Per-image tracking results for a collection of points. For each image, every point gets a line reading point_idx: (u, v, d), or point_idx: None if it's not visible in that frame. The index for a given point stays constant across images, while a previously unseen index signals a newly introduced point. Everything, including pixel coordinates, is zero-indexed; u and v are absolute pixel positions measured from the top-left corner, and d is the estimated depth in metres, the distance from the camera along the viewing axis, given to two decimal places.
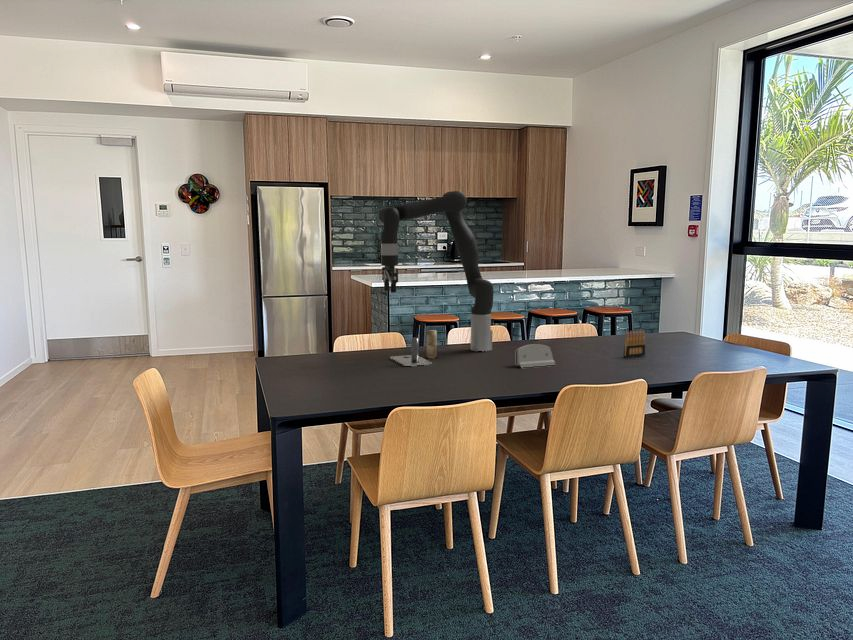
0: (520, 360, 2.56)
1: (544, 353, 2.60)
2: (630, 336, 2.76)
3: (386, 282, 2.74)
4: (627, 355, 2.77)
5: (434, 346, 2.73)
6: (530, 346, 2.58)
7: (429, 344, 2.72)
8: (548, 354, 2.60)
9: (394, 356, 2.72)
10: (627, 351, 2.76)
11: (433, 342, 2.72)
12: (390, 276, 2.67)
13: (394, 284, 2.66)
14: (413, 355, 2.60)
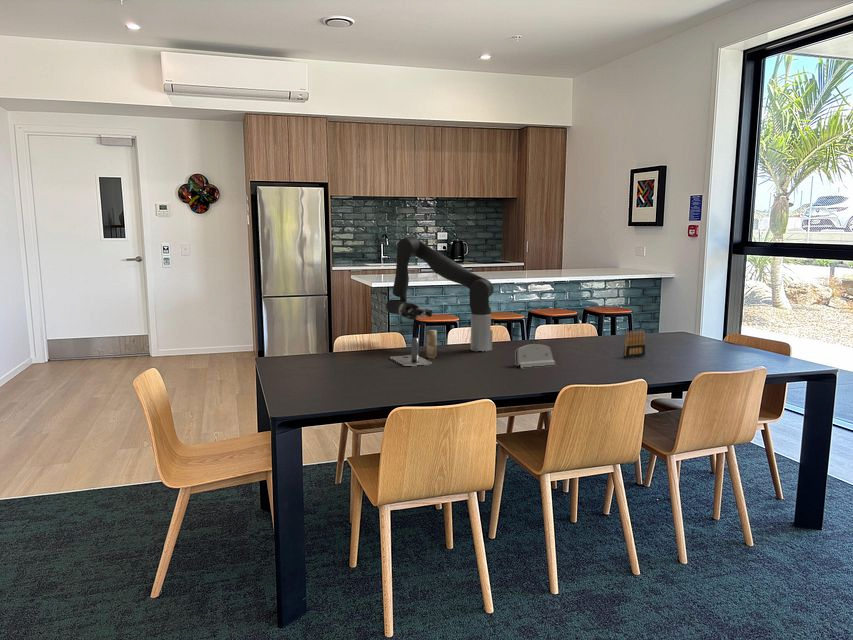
0: (520, 360, 2.56)
1: (544, 353, 2.60)
2: (630, 336, 2.76)
3: (426, 313, 2.88)
4: (627, 355, 2.77)
5: (434, 346, 2.73)
6: (530, 346, 2.58)
7: (429, 344, 2.72)
8: (548, 354, 2.60)
9: (394, 356, 2.72)
10: (627, 351, 2.76)
11: (433, 342, 2.72)
12: None
13: (408, 314, 2.84)
14: (413, 355, 2.60)
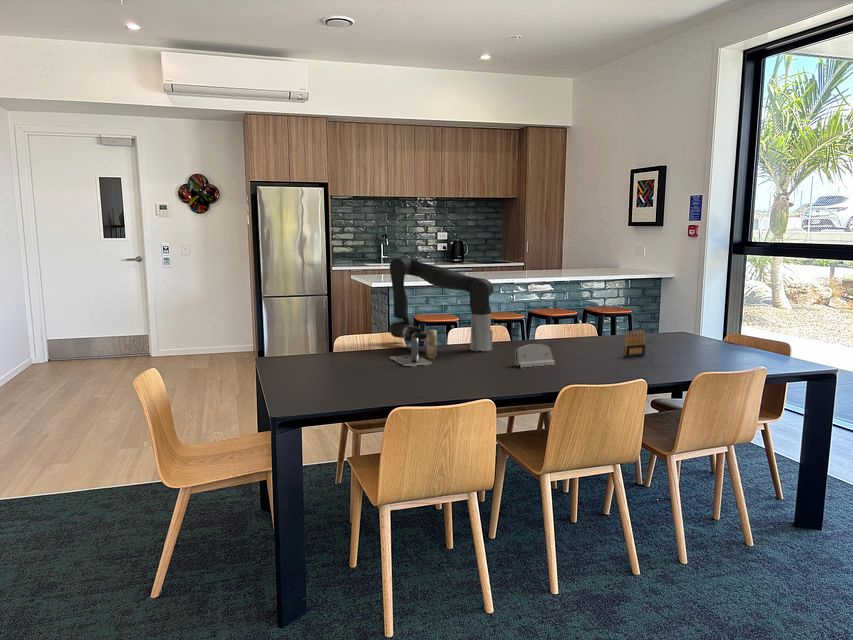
0: (520, 360, 2.56)
1: (544, 353, 2.60)
2: (630, 336, 2.76)
3: None
4: (627, 355, 2.77)
5: (434, 346, 2.73)
6: (530, 346, 2.59)
7: (429, 344, 2.72)
8: (548, 354, 2.61)
9: (394, 356, 2.72)
10: (627, 351, 2.76)
11: (433, 342, 2.72)
12: None
13: None
14: (413, 355, 2.60)
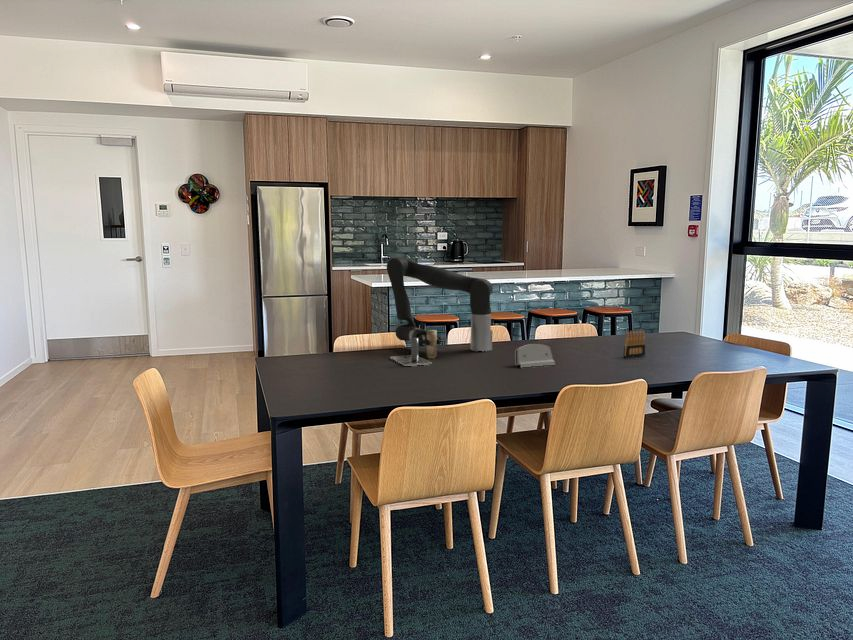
0: (520, 360, 2.56)
1: (544, 353, 2.60)
2: (630, 336, 2.76)
3: None
4: (627, 355, 2.77)
5: (434, 346, 2.73)
6: (530, 346, 2.59)
7: None
8: (548, 354, 2.61)
9: (394, 356, 2.72)
10: (627, 351, 2.76)
11: (433, 342, 2.72)
12: None
13: (423, 341, 2.74)
14: (413, 355, 2.60)
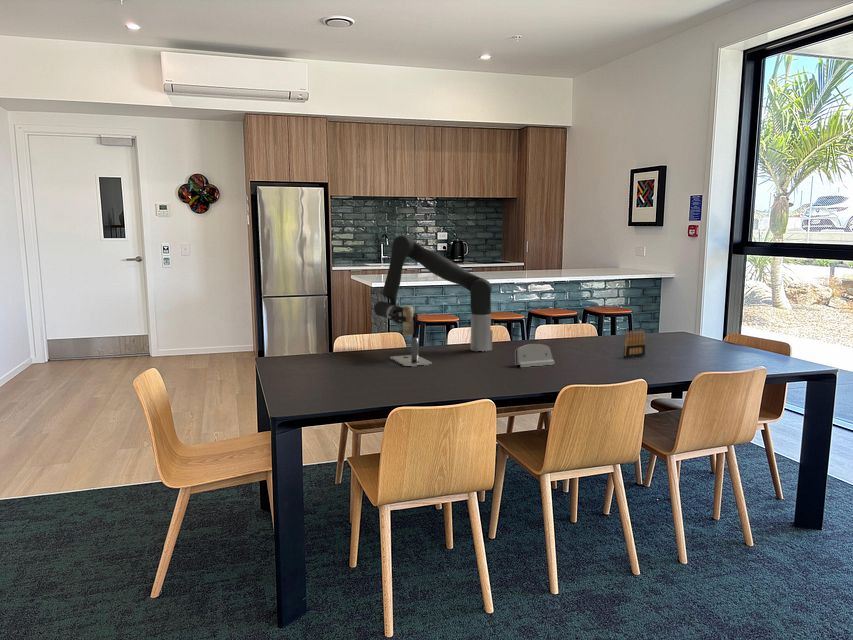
0: (520, 360, 2.56)
1: (544, 353, 2.60)
2: (630, 336, 2.76)
3: None
4: (627, 355, 2.77)
5: (410, 323, 2.67)
6: (530, 346, 2.59)
7: None
8: (548, 354, 2.61)
9: (394, 356, 2.72)
10: (627, 351, 2.76)
11: (409, 319, 2.67)
12: None
13: (399, 318, 2.68)
14: (413, 355, 2.60)
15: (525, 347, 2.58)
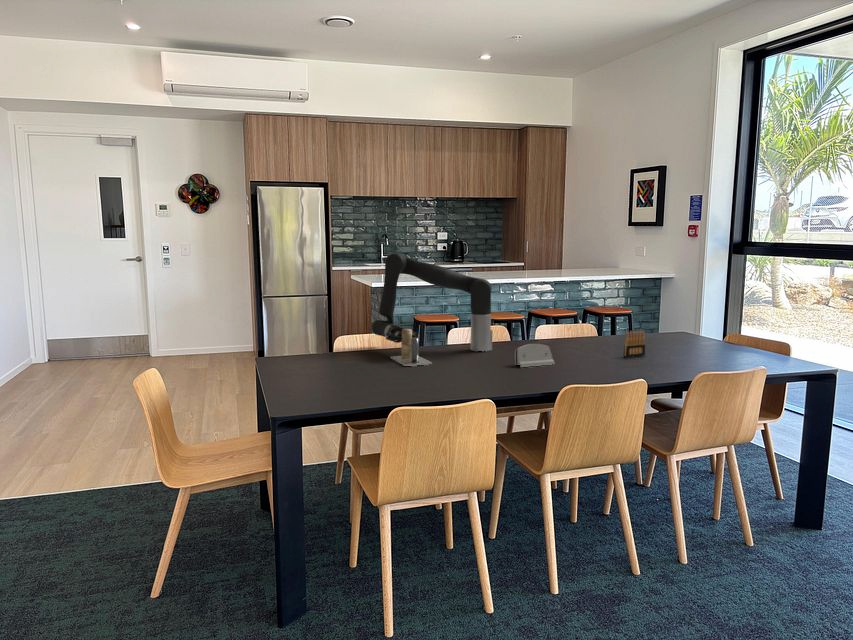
0: (520, 360, 2.56)
1: (543, 353, 2.61)
2: (630, 336, 2.76)
3: None
4: (627, 355, 2.77)
5: (409, 346, 2.68)
6: (530, 346, 2.59)
7: (404, 343, 2.68)
8: (547, 354, 2.61)
9: (394, 356, 2.72)
10: (627, 351, 2.76)
11: (408, 342, 2.67)
12: None
13: (395, 337, 2.69)
14: (413, 355, 2.60)
15: (525, 347, 2.58)
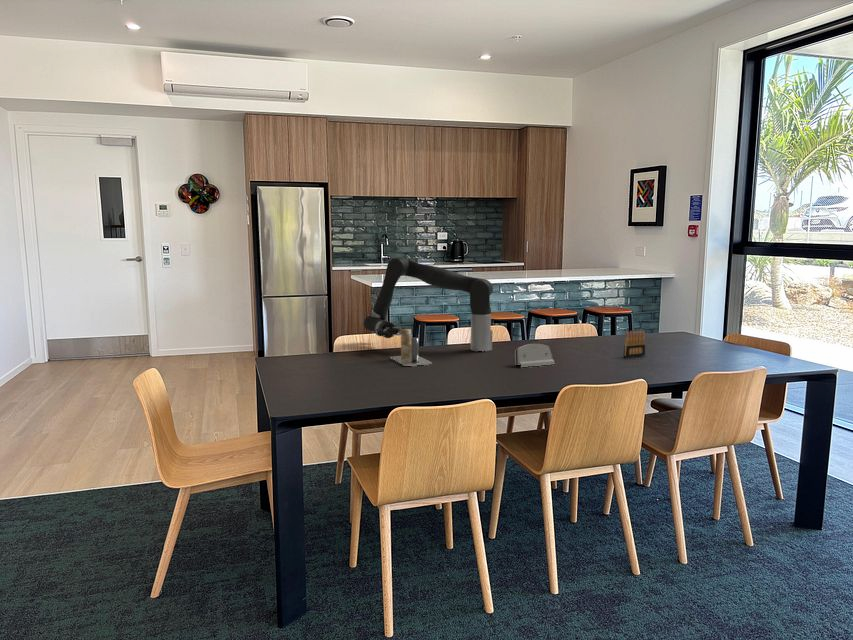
0: (520, 360, 2.56)
1: (543, 353, 2.61)
2: (630, 336, 2.76)
3: None
4: (627, 355, 2.77)
5: (408, 346, 2.68)
6: (530, 346, 2.59)
7: (403, 343, 2.68)
8: (547, 353, 2.61)
9: (394, 356, 2.72)
10: (627, 351, 2.76)
11: (407, 342, 2.68)
12: None
13: (383, 333, 2.80)
14: (413, 355, 2.60)
15: (525, 347, 2.58)
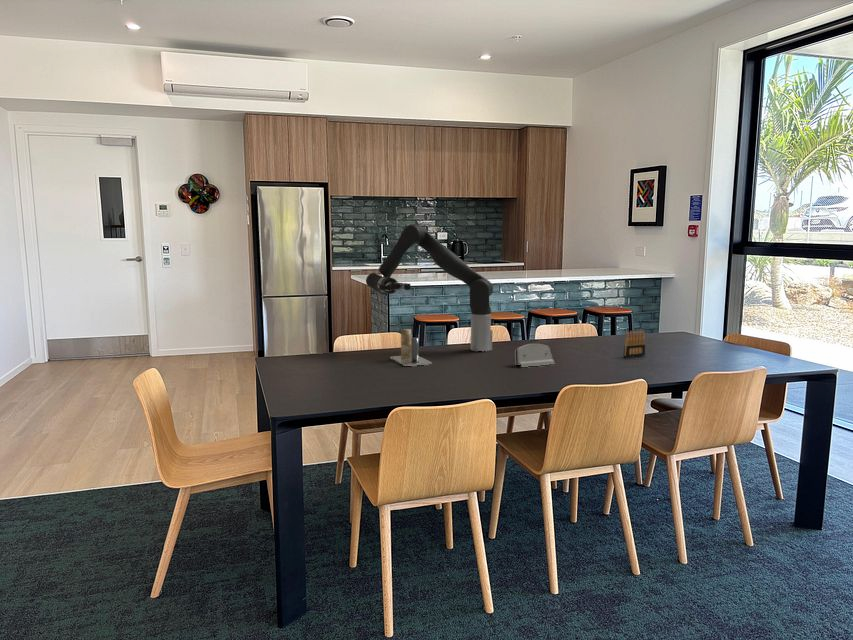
0: (520, 360, 2.56)
1: (543, 352, 2.61)
2: (630, 336, 2.76)
3: (405, 287, 2.84)
4: (627, 355, 2.77)
5: (408, 346, 2.68)
6: (530, 346, 2.59)
7: (403, 343, 2.68)
8: (547, 353, 2.62)
9: (394, 356, 2.72)
10: (627, 351, 2.76)
11: (407, 342, 2.68)
12: None
13: (385, 287, 2.80)
14: (413, 355, 2.60)
15: (525, 347, 2.58)
